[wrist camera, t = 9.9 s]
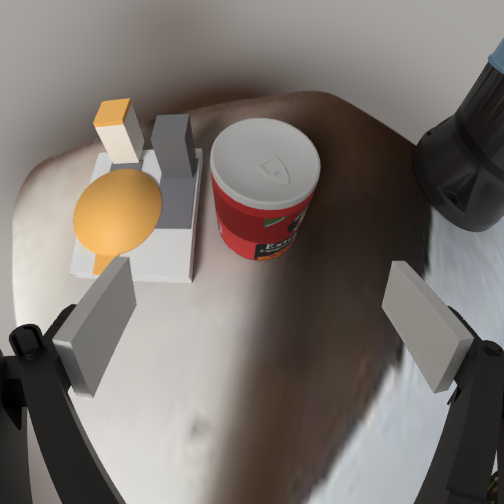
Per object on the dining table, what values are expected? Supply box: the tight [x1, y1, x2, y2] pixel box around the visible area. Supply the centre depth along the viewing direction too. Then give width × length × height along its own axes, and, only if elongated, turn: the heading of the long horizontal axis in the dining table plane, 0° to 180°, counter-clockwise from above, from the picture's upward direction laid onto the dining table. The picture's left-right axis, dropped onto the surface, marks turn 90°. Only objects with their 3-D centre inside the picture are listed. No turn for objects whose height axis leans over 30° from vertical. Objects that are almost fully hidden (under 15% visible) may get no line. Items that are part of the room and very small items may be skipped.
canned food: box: [210, 118, 320, 261], centre depth 26 cm, size 8×8×11 cm
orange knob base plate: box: [69, 114, 203, 283], centre depth 28 cm, size 13×14×8 cm
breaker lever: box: [93, 98, 144, 164], centre depth 29 cm, size 3×3×7 cm
